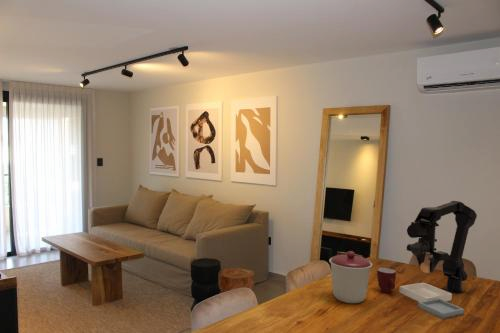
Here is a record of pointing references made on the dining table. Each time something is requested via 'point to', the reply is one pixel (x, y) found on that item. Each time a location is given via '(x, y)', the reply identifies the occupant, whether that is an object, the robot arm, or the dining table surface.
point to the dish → (424, 292)
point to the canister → (350, 277)
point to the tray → (441, 308)
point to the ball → (425, 267)
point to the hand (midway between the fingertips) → (426, 270)
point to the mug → (386, 279)
